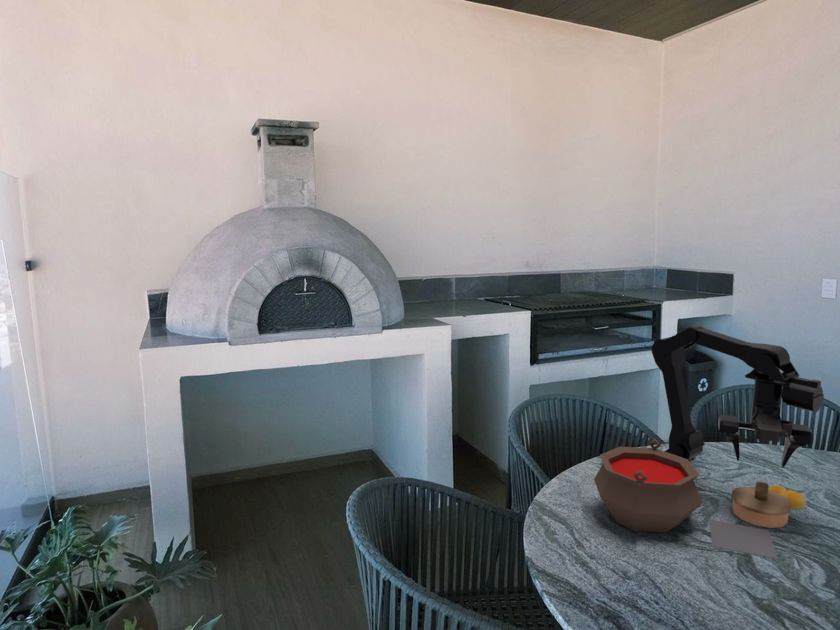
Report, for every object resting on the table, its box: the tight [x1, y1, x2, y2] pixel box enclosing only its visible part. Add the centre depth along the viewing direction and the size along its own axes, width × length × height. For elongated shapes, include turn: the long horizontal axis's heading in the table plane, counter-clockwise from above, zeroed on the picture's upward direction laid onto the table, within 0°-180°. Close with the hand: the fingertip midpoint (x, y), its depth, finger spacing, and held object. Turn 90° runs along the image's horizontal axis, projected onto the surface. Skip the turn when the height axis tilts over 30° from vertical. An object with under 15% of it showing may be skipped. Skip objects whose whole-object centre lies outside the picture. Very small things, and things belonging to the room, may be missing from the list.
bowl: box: [732, 500, 790, 529], centre depth 136 cm, size 11×11×4 cm
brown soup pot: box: [593, 438, 703, 533], centre depth 135 cm, size 24×24×16 cm
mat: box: [708, 519, 778, 560], centre depth 127 cm, size 12×12×1 cm
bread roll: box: [768, 484, 807, 510], centre depth 143 cm, size 8×9×4 cm
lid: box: [731, 481, 792, 515], centre depth 135 cm, size 12×12×4 cm
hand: (759, 463), depth 136 cm, fingers open, 9 cm apart
